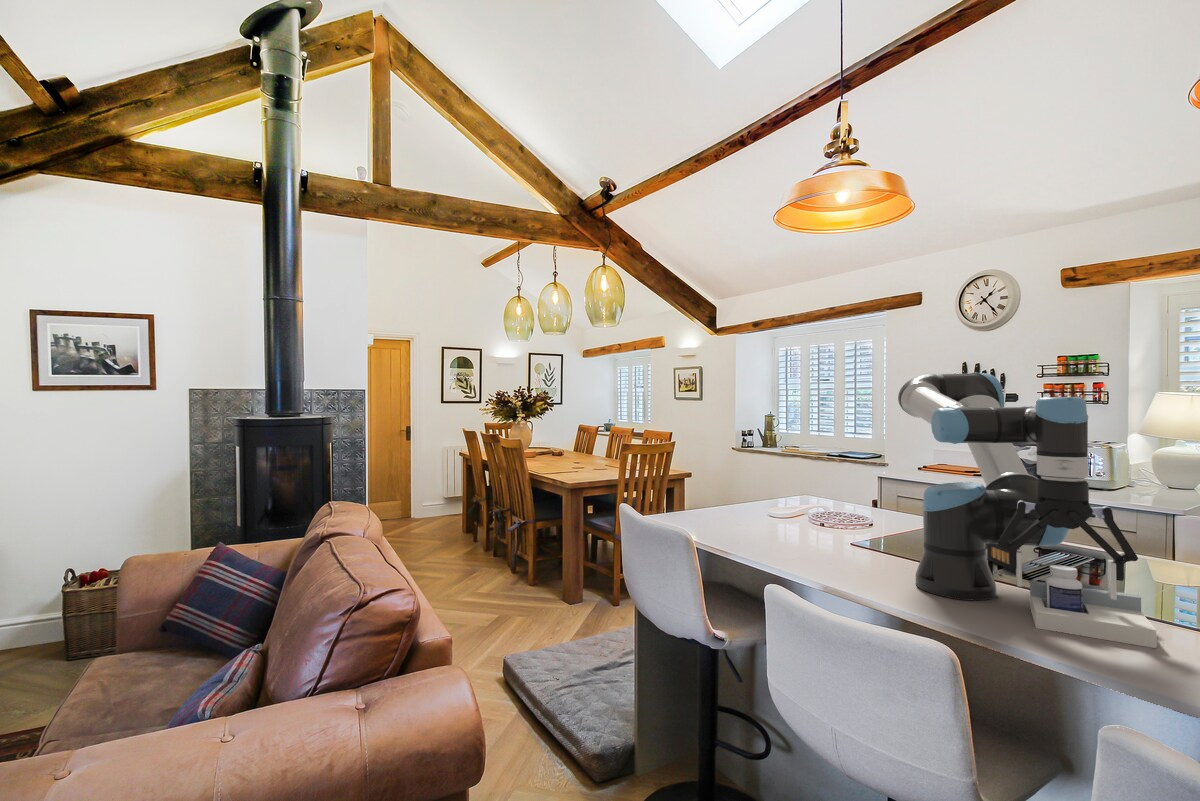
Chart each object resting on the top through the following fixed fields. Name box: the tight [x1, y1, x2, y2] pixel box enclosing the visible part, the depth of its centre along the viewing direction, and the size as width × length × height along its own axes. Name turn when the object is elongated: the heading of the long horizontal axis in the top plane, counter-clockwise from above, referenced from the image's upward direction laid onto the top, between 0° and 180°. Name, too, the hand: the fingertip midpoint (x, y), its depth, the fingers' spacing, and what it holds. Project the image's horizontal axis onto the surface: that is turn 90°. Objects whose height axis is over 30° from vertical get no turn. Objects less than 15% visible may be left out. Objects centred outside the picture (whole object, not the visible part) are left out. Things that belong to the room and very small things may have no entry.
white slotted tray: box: [1029, 580, 1157, 649], centre depth 103 cm, size 16×12×6 cm
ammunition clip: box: [986, 544, 1021, 573], centre depth 142 cm, size 11×2×12 cm, turn 177°
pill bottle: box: [1045, 564, 1084, 613], centre depth 106 cm, size 5×5×10 cm
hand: (1064, 591), depth 106 cm, fingers open, 13 cm apart
